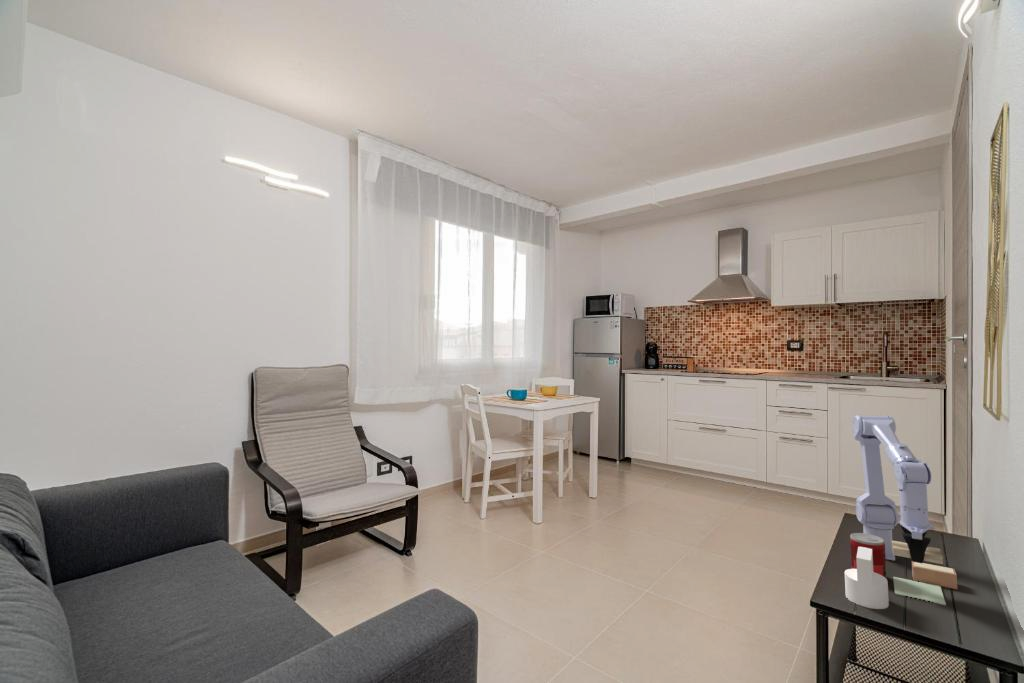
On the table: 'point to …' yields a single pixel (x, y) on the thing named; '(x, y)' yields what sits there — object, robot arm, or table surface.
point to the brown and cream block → (934, 575)
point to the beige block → (930, 552)
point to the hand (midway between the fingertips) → (916, 557)
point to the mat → (918, 590)
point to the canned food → (872, 543)
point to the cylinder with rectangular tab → (866, 582)
